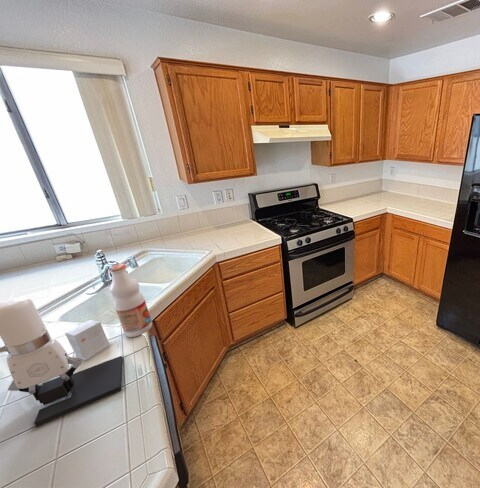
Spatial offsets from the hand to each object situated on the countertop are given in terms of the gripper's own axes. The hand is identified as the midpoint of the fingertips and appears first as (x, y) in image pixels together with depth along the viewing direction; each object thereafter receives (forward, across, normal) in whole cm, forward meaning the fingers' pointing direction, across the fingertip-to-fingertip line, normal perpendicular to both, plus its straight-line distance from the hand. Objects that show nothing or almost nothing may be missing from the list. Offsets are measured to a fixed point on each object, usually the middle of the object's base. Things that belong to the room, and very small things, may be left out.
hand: (57, 393), depth 75 cm
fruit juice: (+2, +20, +24) cm, 31 cm away
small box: (+2, +6, +20) cm, 21 cm away
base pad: (+2, +6, 0) cm, 6 cm away
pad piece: (0, 0, 0) cm, 0 cm away
